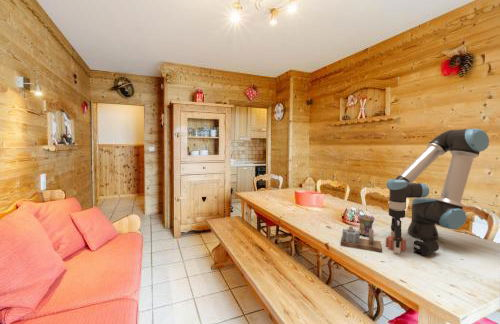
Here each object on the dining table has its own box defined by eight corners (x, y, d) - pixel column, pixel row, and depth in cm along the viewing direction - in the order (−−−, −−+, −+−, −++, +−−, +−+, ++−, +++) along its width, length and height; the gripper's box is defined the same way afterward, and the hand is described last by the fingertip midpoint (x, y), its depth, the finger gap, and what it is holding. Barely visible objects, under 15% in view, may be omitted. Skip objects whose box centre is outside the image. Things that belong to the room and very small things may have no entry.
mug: (377, 236, 141) (378, 219, 141) (364, 237, 140) (364, 220, 139) (364, 229, 153) (364, 213, 152) (351, 230, 151) (351, 214, 150)
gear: (359, 238, 133) (359, 229, 133) (359, 244, 125) (359, 235, 125) (343, 235, 137) (343, 227, 137) (341, 241, 129) (342, 232, 129)
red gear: (399, 244, 130) (399, 235, 129) (409, 251, 121) (409, 242, 121) (382, 244, 130) (383, 235, 130) (391, 251, 121) (392, 242, 121)
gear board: (380, 244, 129) (381, 227, 129) (382, 252, 120) (382, 233, 120) (341, 238, 138) (342, 222, 137) (340, 245, 129) (341, 227, 128)
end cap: (428, 258, 114) (429, 245, 113) (412, 252, 120) (413, 240, 119) (438, 254, 118) (439, 241, 118) (423, 248, 125) (423, 236, 124)
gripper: (386, 202, 137) (384, 237, 138) (391, 214, 114) (389, 256, 116) (401, 204, 133) (399, 240, 135) (410, 216, 111) (407, 259, 113)
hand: (395, 247), depth 125 cm, fingers open, 13 cm apart
